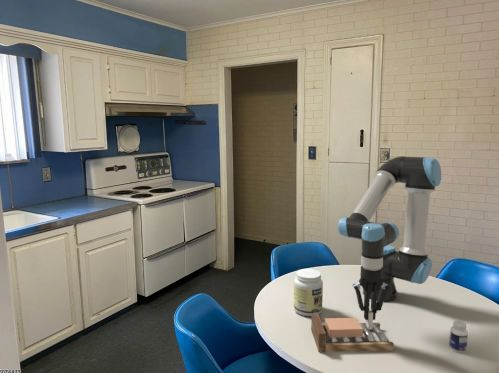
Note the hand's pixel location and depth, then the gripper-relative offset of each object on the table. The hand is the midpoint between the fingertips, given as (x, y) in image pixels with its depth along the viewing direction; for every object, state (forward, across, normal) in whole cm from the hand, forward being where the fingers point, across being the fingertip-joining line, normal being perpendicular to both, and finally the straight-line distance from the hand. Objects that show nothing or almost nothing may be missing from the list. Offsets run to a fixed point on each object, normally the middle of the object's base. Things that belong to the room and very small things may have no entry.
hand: (369, 327), depth 140 cm
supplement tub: (+5, +19, -22) cm, 30 cm away
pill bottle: (+5, -29, +7) cm, 31 cm away
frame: (+5, +6, 0) cm, 8 cm away
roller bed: (+4, +5, 0) cm, 6 cm away
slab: (+1, +10, 0) cm, 10 cm away
